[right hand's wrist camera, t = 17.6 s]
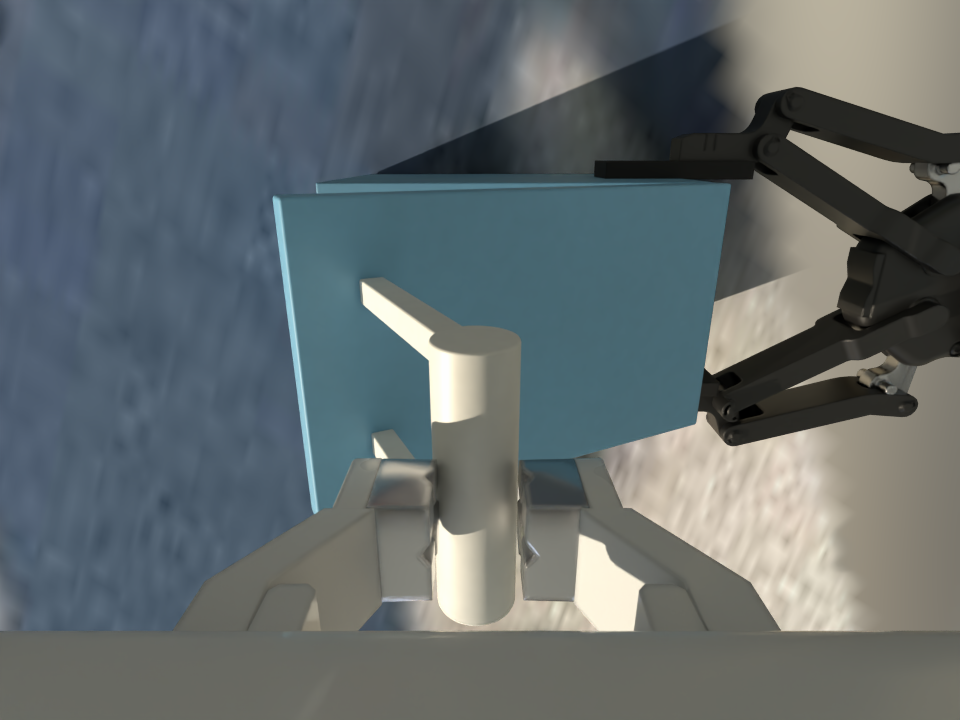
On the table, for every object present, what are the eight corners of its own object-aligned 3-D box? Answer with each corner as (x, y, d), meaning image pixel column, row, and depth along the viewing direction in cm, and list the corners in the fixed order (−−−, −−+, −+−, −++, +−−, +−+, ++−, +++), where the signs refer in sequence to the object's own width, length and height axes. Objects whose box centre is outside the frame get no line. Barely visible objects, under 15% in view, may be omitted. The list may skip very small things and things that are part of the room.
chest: (381, 335, 35) (338, 412, 25) (371, 174, 32) (315, 182, 21) (621, 335, 35) (681, 412, 25) (636, 173, 32) (712, 181, 21)
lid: (311, 508, 18) (393, 745, 11) (271, 194, 15) (352, 230, 7) (676, 413, 24) (879, 520, 17) (707, 182, 21) (975, 194, 14)
